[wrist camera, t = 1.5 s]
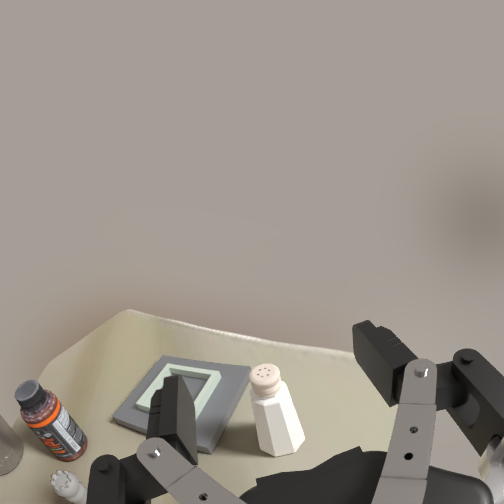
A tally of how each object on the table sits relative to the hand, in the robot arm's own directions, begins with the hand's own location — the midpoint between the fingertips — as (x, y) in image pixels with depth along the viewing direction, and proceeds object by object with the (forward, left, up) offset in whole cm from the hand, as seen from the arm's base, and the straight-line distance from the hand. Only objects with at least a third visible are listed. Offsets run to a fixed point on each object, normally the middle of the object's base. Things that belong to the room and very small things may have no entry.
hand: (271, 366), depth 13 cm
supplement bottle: (-31, -2, -21) cm, 38 cm away
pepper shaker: (-5, +9, -21) cm, 23 cm away
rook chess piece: (-20, -8, -21) cm, 30 cm away
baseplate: (-20, +12, -21) cm, 31 cm away
